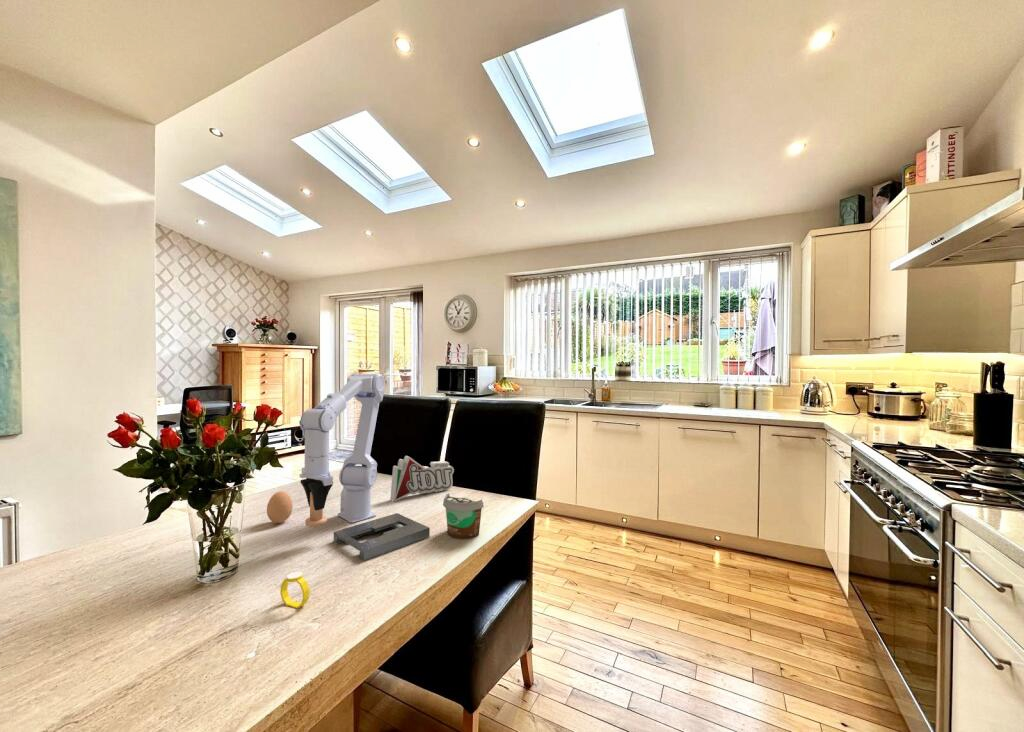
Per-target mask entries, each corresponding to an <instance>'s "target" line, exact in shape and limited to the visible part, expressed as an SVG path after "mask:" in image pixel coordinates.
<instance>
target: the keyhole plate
mask: <svg viewBox="0 0 1024 732" xmlns="http://www.w3.org/2000/svg"><path fill="white" fill-rule="evenodd" d="M398 525H400V526H399V527H397V528H394V529H391V530H388V531H384V532H383V533H382V535H380V536H377V537H374V538H371V539H368V540H366V541H362V542H360V541H358V540H356V538H358V537H361V536H364V535H368V534H371V533H375V532H378V531H381V530H386V529H388V528H390V527H394V526H398ZM430 530H431V529H430V527H429V526H427V525H424V524H422V523H420V522H418V521H416V520H414V519H411V518H409V517H406V516H404V515H403V514H400V513H393V514H390V515H386V516H382V517H380V518H375V519H372V520H369V521H365V522H362V523H359V524H355V525H352V526H348V527H345V528H342V529H338V530H335V531H333V542H334V543H336V544H340V543H342V542H345V543H346V544H348V545H349V546H351V547H352V548H353V549H355V550H357V551H359V559H360V560H362V561H364V562H366V561H368V560H370V559H373V558H375V557H378V556H381V555H384V554H387V553H390V552H392V551H395V550H397V549H401V548H403V547H406V546H409V545H411V544H414V543H417V542H419V541H420V542H421V541H422V540H425V539H428V538H430V534H431V533H430Z"/></svg>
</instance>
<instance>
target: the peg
mask: <svg viewBox="0 0 1024 732" xmlns="http://www.w3.org/2000/svg"><path fill="white" fill-rule="evenodd" d="M323 513H324V509H320V510H315V509H314V504H313V496H312V492H310V507H309V517H307V518H306V519H305V526H306V527H314V528H315V527H319V526H323V525H325V524H326V523H327V522H328V519H327V518H328V517H327V516H326V515H324V514H323Z"/></svg>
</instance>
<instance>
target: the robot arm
mask: <svg viewBox="0 0 1024 732" xmlns="http://www.w3.org/2000/svg"><path fill="white" fill-rule="evenodd" d="M385 388H386V382H385V378H384V376H383V375H382V374H381V373H356V372H352V373H351V374H350V375H349V376H347V378H346V383H345V384H344V386H343V387H342V388H340V390H339V391H338V392H337V393H335V392H334V393H328V394H327V395H326V397H325V398H324V399H323V400H322V401H320V402H319V403H318V404H317V405H316V406H315V407H314V408H309V409H306V410H305V411H303V413H302V414H301V416H300V420H299V428H300V429H301V430H302V437H303V438H304V467H302V468H301V473H300V474H299V478H300V484H301V486H302V488H303V490H304V492H305V496H306V500H307V504H308V507H309V508H310V492H312V496H313V504H314V509H315V510H320V509H323V510H324V509H325V506H326V502H327V498H328V495H329V492H330V490H331V489H332V487H333V485H334V476H333V475H332V474H331V471H330V469H329V468H330V431H331V430H332V429H333V427H334V425H335V422H336V421H337V417H338V416H340V415H341V414H342V413H343V412H344V411H345V409H346V408H347V402H349V401H350V400H351V399H352V398H354V399H355V400H356V401H357V402H360V404H361V407H360V408H361V409H360V412H359V418H358V424H357V429H356V435H355V441H354V445H353V451H352V454H351V455H350V456H348V457H347V458H346V459H344V460H343V465H342V467H341V469H340V470H339V476H338V478H339V483H340V484H341V486H342V487H343V488H342V490H341V492H340V511H339V513H337V515H336V516H338V517H341V518H342V519H344V520H346V521H347V522H349V523H351V524H353V523H357V522H360V521H364V520H368V519H370V518H373V517H376V516H377V514H376V513H374V512H372V511H371V497H372V496H371V490H372V489H371V488H372V487H374V485H375V483H376V482H377V479H378V470H377V467H378V463H377V461H376V460H375V459H374V458H373V457H372V456H371V452H372V445H373V441H374V437H375V436H374V434H375V431H376V430H375V429H376V423H377V417H378V413H379V407H380V403H381V402H383V399H384V394H385Z"/></svg>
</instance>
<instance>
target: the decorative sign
mask: <svg viewBox="0 0 1024 732" xmlns="http://www.w3.org/2000/svg"><path fill="white" fill-rule="evenodd" d="M429 465H430V467H429V466H426V465H425V466H424V465H421V464H420V463H418V462H417V461H416V460H415V459H414V458H412V457H410V456H408V455H405V456H404V458H403V459H402V458H399V459H398V461H397V465H393V466H392V473H391V474H392V475H391V485H390V486H391V487H390V497H389V500H390V499H391V501H392V500H393V501H395V502H397V501H396V500H398V501H400V500H401V499H403V498H406V497H408V496H410V495H416V494H420V495H421V494H429V493H433V492H435V493H439V492H444V491H443V490H447V491H449V490H451V488H453V487H452V486H453V485H454V484H453V483H454V482H453V474H454V472H455V469H454V467H453V466H452V465H450V462H448V461H445V460H442V461H439V460H438V461H430V463H429ZM448 489H449V490H448ZM438 491H439V492H438ZM393 501H392V502H393Z"/></svg>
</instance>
